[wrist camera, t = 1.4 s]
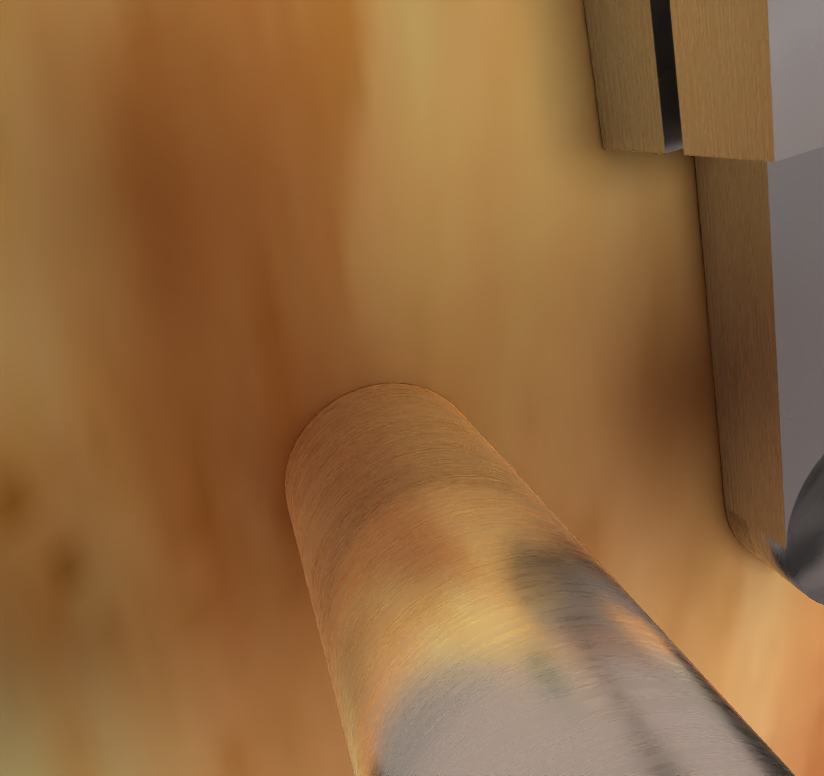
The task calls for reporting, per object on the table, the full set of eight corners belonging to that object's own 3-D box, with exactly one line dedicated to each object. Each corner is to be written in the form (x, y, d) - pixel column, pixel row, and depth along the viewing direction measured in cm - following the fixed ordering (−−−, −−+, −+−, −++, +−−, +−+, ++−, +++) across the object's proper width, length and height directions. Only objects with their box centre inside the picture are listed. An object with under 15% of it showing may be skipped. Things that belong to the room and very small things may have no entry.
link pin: (496, 525, 13) (1227, 1500, 4) (318, 592, 12) (673, 1909, 3) (457, 356, 12) (1404, 1200, 3) (256, 423, 11) (553, 1795, 2)
